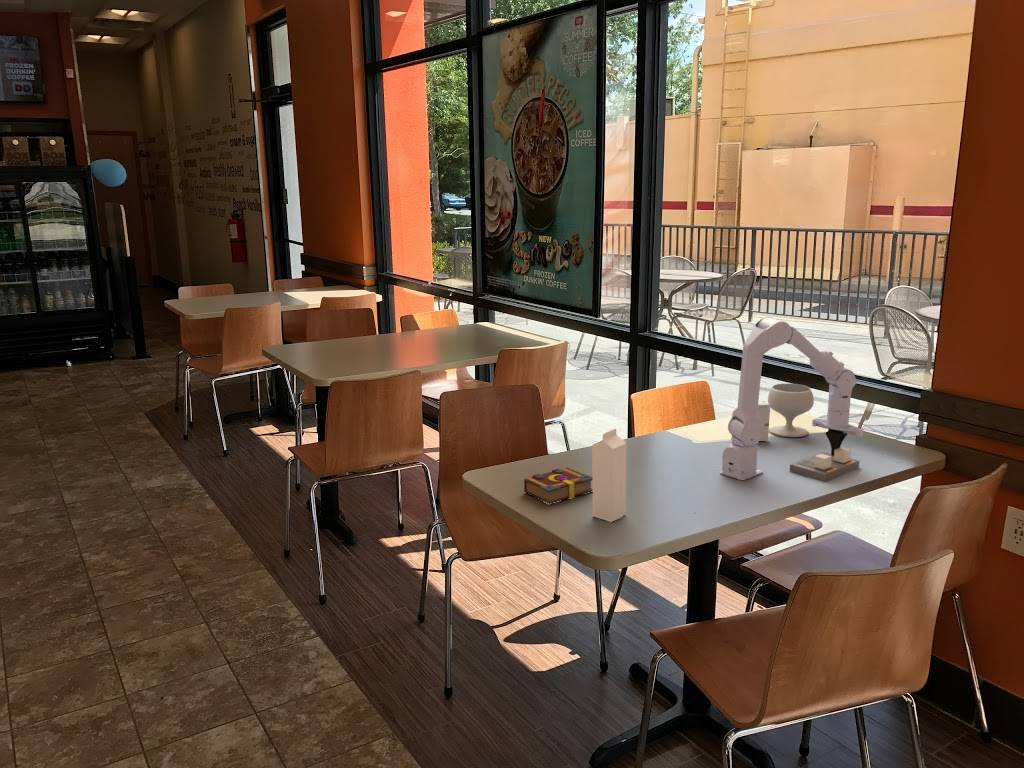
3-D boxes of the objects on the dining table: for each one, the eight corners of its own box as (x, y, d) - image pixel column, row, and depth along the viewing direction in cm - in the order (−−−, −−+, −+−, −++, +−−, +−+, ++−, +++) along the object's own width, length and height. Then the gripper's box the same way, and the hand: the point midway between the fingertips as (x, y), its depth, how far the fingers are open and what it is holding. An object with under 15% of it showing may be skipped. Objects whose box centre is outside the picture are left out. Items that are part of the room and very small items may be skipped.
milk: (625, 515, 205) (627, 430, 200) (612, 523, 200) (613, 436, 195) (605, 510, 209) (606, 426, 203) (591, 517, 204) (592, 431, 199)
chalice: (757, 432, 269) (759, 388, 265) (780, 424, 277) (783, 380, 274) (797, 442, 258) (799, 395, 255) (819, 432, 267) (822, 387, 264)
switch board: (824, 481, 224) (825, 473, 224) (789, 471, 233) (789, 463, 233) (858, 467, 235) (859, 460, 234) (823, 458, 243) (824, 451, 243)
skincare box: (750, 442, 259) (752, 405, 256) (744, 438, 263) (746, 401, 260) (769, 441, 259) (771, 404, 256) (763, 437, 264) (764, 400, 261)
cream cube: (843, 463, 232) (844, 452, 231) (833, 460, 234) (834, 449, 233) (849, 460, 234) (850, 449, 233) (840, 458, 236) (840, 447, 235)
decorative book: (523, 494, 221) (522, 476, 220) (570, 481, 230) (570, 464, 229) (549, 506, 212) (549, 488, 211) (597, 492, 221) (597, 474, 220)
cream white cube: (823, 469, 227) (824, 458, 226) (814, 467, 229) (814, 456, 228) (830, 467, 229) (831, 456, 228) (820, 464, 231) (821, 453, 230)
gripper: (870, 411, 229) (866, 458, 232) (823, 401, 240) (820, 446, 243) (856, 416, 225) (853, 464, 228) (809, 406, 236) (806, 451, 239)
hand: (835, 455), depth 235 cm, fingers closed
